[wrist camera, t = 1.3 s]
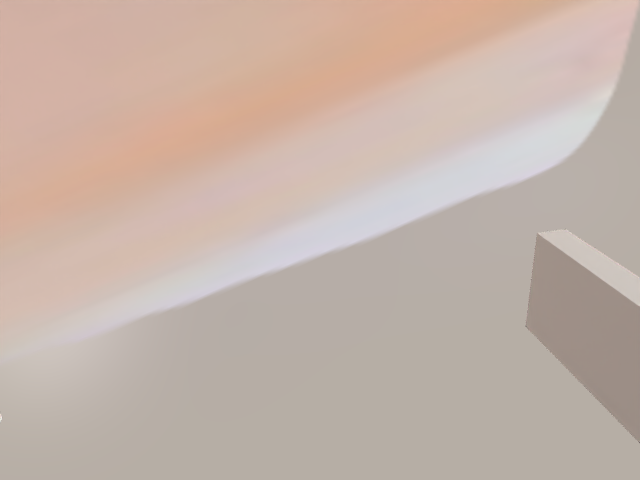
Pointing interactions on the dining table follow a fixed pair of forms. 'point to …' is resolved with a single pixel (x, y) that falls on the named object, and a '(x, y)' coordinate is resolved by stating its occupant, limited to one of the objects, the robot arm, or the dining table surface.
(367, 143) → the dining table surface
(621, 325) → the robot arm
